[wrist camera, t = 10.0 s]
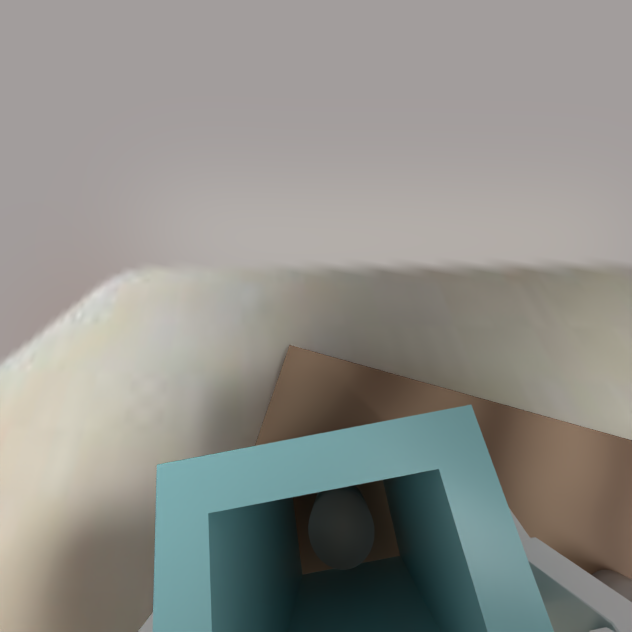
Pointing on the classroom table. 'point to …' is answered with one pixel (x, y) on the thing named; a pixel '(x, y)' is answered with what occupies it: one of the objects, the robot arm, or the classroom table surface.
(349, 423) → the pin plate
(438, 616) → the sleeve block
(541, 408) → the classroom table surface
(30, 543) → the classroom table surface
